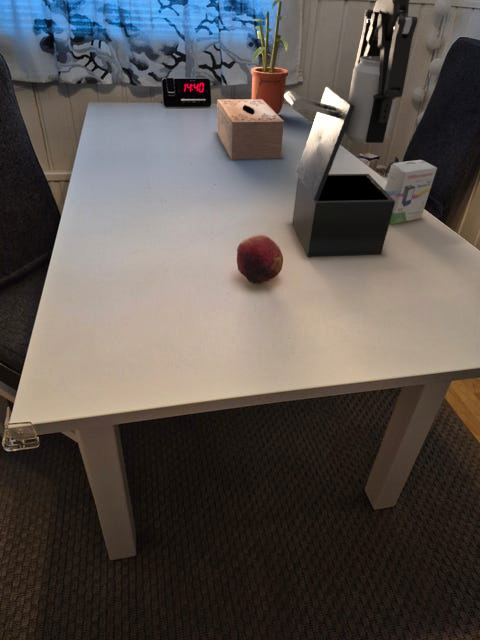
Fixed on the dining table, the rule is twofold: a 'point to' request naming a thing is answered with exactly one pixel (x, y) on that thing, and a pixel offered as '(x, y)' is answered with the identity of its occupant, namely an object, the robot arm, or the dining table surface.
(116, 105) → the dining table surface
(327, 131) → the bin lid
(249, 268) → the fruit
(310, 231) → the bin
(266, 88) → the potted plant
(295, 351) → the dining table surface
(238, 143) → the tissue box cover
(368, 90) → the can
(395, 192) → the ink box
